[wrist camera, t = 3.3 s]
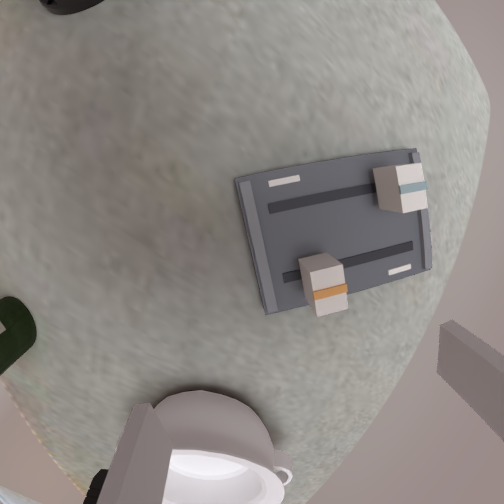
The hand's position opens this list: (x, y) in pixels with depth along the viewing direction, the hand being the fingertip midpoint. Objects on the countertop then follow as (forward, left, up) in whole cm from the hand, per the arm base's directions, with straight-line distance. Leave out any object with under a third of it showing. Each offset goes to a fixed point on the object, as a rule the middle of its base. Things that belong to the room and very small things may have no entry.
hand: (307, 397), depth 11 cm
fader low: (+5, -1, -19) cm, 19 cm away
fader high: (+14, +6, -19) cm, 24 cm away
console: (+9, +3, -21) cm, 23 cm away
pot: (-12, -20, -21) cm, 32 cm away
